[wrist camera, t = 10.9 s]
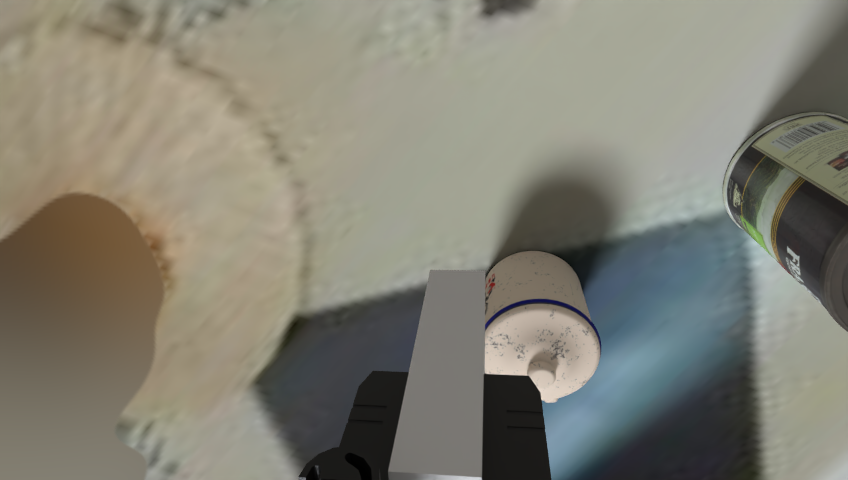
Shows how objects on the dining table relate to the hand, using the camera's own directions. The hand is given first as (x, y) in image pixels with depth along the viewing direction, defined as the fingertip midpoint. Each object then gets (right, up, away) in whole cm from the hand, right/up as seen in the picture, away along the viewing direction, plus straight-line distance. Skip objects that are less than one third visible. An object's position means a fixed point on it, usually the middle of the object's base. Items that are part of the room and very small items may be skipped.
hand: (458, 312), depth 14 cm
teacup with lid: (+9, -4, +33) cm, 34 cm away
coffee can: (+27, +7, +25) cm, 38 cm away
